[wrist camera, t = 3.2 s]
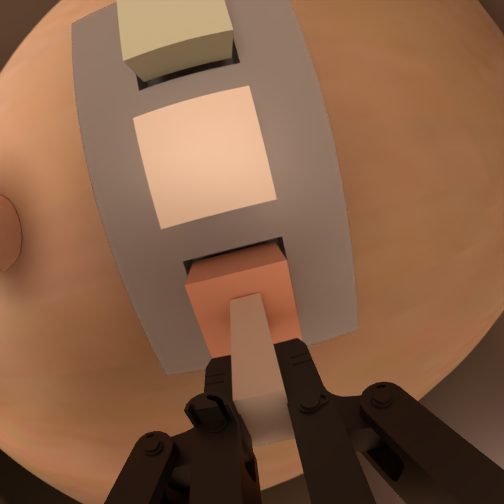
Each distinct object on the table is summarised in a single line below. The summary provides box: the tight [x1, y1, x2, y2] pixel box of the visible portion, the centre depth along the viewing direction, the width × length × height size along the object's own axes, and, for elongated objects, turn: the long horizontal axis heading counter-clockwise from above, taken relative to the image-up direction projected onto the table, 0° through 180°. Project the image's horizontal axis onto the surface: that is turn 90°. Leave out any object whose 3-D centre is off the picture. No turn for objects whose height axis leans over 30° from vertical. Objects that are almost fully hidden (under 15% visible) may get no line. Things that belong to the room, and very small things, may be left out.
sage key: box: [117, 0, 233, 82], centre depth 10 cm, size 5×5×4 cm
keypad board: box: [72, 0, 358, 376], centre depth 15 cm, size 14×26×3 cm, turn 13°
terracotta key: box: [185, 241, 302, 358], centre depth 15 cm, size 5×5×4 cm
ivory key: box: [133, 86, 277, 229], centre depth 12 cm, size 5×5×4 cm
